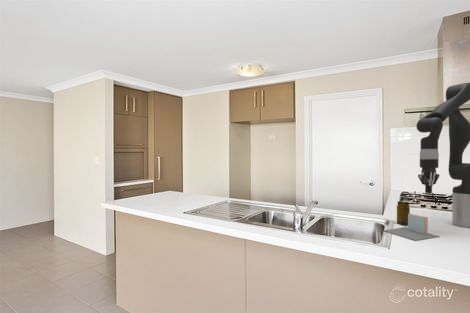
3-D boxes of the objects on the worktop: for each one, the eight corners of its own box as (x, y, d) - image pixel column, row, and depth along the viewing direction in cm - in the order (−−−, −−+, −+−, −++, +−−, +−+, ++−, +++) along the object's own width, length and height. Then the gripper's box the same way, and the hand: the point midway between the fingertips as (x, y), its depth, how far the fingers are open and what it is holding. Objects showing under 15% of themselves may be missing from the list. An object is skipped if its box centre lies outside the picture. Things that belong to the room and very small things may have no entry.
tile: (411, 229, 133) (411, 213, 133) (427, 233, 126) (427, 217, 125) (407, 230, 132) (407, 213, 132) (424, 234, 125) (424, 217, 125)
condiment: (403, 221, 151) (403, 200, 150) (416, 225, 142) (416, 203, 142) (392, 222, 149) (392, 201, 149) (405, 226, 141) (405, 203, 140)
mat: (405, 227, 137) (405, 227, 137) (439, 236, 123) (439, 235, 123) (383, 231, 132) (383, 230, 132) (415, 241, 117) (415, 240, 117)
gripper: (429, 158, 137) (429, 191, 138) (412, 158, 133) (411, 192, 133) (445, 158, 130) (445, 193, 131) (427, 158, 126) (427, 195, 126)
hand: (428, 193), depth 132 cm, fingers closed
